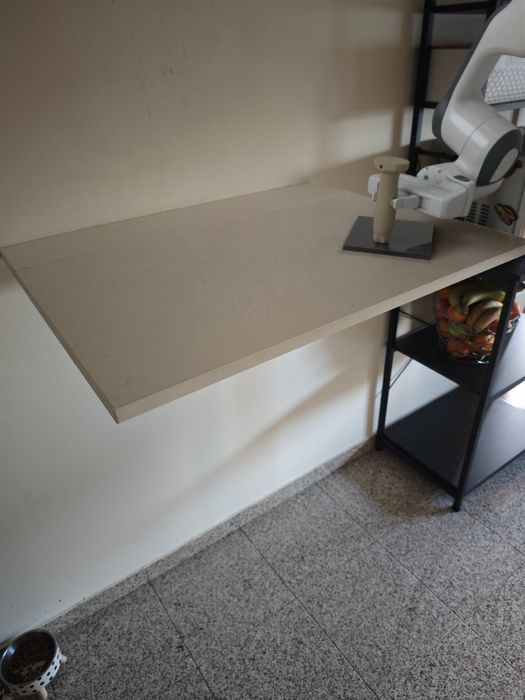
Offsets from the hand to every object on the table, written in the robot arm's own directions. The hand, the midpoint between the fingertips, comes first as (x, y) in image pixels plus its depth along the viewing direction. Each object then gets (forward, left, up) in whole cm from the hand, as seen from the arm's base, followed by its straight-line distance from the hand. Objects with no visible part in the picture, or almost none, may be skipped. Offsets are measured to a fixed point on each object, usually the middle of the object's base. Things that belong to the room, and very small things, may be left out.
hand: (383, 200), depth 91 cm
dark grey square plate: (-2, -6, -9) cm, 11 cm away
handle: (-1, -1, -8) cm, 8 cm away
